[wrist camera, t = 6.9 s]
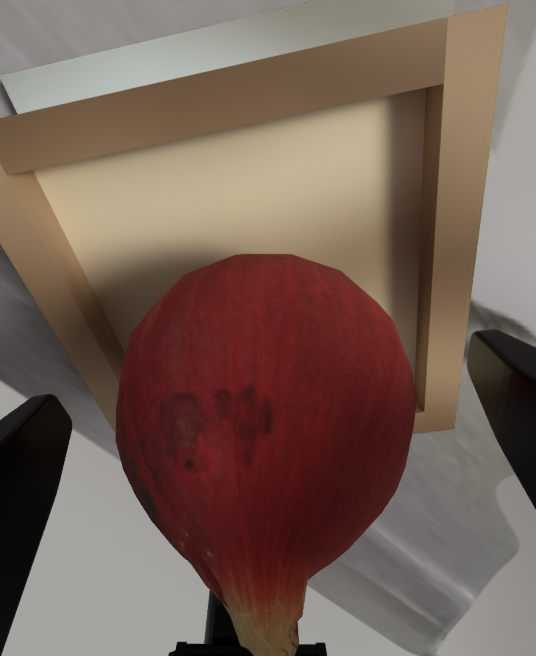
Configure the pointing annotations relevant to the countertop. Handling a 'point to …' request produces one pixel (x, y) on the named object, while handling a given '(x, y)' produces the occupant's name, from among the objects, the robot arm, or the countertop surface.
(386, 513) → the countertop surface
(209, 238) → the tan square tray
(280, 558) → the onion
